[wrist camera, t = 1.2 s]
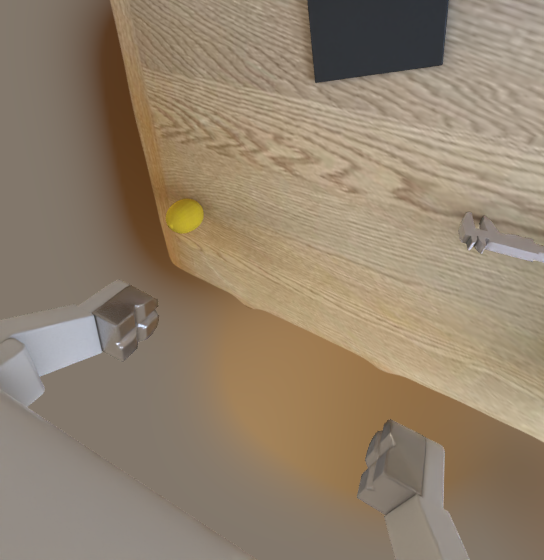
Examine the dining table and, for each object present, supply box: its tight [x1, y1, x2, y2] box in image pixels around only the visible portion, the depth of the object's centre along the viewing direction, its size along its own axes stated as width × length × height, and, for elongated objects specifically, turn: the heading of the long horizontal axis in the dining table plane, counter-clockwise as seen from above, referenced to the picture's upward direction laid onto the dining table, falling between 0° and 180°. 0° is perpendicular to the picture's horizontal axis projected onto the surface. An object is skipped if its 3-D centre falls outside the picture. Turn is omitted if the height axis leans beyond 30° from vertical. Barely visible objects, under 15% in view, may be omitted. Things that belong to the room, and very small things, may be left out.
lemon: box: [166, 199, 204, 234], centre depth 58 cm, size 6×6×8 cm
